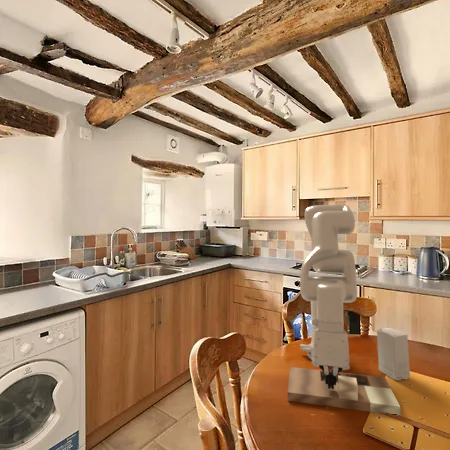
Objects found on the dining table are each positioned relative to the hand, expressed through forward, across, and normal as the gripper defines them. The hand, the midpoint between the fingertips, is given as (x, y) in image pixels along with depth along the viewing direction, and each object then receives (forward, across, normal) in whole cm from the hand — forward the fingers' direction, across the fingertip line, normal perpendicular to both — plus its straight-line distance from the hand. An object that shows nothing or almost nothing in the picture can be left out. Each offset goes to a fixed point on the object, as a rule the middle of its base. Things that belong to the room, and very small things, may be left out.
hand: (330, 386), depth 89 cm
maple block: (+1, +5, -1) cm, 5 cm away
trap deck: (+4, +2, +4) cm, 6 cm away
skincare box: (+4, +22, +20) cm, 30 cm away
